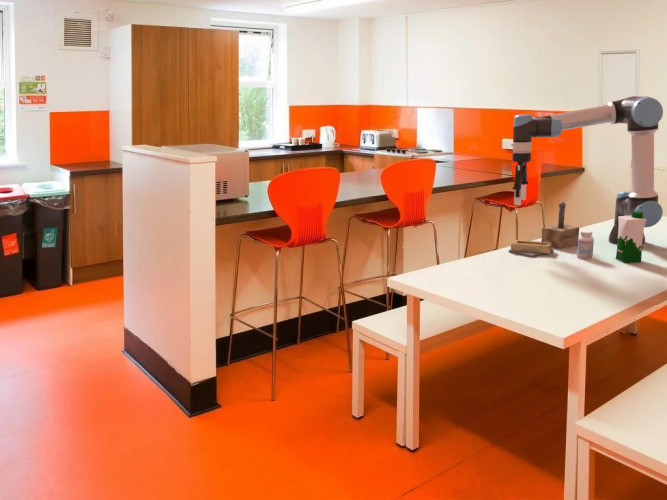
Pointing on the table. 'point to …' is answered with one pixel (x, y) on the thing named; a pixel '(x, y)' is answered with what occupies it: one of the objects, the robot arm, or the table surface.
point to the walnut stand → (561, 232)
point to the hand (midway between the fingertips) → (519, 202)
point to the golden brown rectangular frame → (531, 246)
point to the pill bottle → (585, 245)
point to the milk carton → (630, 237)
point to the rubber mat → (529, 253)
